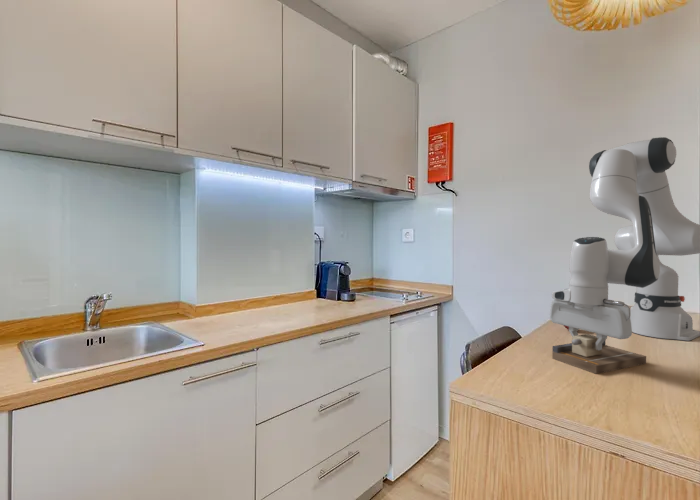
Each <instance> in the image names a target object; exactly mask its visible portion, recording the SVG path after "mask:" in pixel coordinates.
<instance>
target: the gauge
mask: <svg viewBox="0 0 700 500" xmlns="http://www.w3.org/2000/svg"><path fill="white" fill-rule="evenodd" d="M571 339H572V340H571V343H572V352H573V353H576V354H579V355H582V356H586V357H588V356H594V355H599V354H602V350H595V349H593V348H592V343H593V342H596V341H597V340H598V338H597V337H596V335H593V334H588V333H584V334H578V335H576V336H572V335H571Z"/></svg>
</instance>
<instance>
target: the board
mask: <svg viewBox="0 0 700 500" xmlns="http://www.w3.org/2000/svg"><path fill="white" fill-rule="evenodd" d="M551 353H552V355H551V356H552V357H551V358H552V359H553V360H555V361H558V362H562V363H564V364H567V365H569V366H572V367H576V368H578V369H581V370H584V371H587V372H590V373H593V374H595V375H597V374H603V373H606V372H607V373H608V372H611V371H616V370H621V369H626V368H632V367H635V366H641V365H646V364H647V356H646V355H643V354H640V353H636V352H633V351H628V350H625V349H621V348H619V347H614V346H611V345H606V340H605V341H604V342H603V343H602V354H599V355H594V356H588V357H586V356H582V355H579V354H576V353H573V352H572V342H571V343H563V344H558V345H557V344H556V345H552V351H551Z"/></svg>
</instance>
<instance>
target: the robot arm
mask: <svg viewBox="0 0 700 500" xmlns="http://www.w3.org/2000/svg"><path fill="white" fill-rule="evenodd" d="M676 158H677V149H676V145H675V144H674V141H672V140H671V139H670V138H668V137H661V136H660V137H652V138H651V139H644V140H638V141H632V142H629V143H626V144H623V145H620V146H616V147H612V148H610V149H605V150H601V151H599V152H597V153H595V154H594V155H593V156H592V157H591V158H590V160H589V162H588V170H589V174H590V176H591V182H590V187H589V201H590V202H591V204H592V205H593V206H594V207H595V208H596V209H597V210H599V211H601V212H603V213H605V214H607V215H610V216H615V217H619V218H623V219H625V220H628V221H629V222H631V223H632V225H628V226H623V227H620V228H619V229H618V230H617V232H615V235H614V239H613V241H614V242H613V243H614V245H615V247H616V249H609V248H608V243H607V240H606V239H605V238H604V237H600V236H599V237H598V236H586V237H579V238H576V239H575V240H573V242H572V244H571V249H570V255H569V272H570V279H569V283H568V288H565V289H561V290H555V291H554V290H553V291H552V293H551V297H552V300H551V302H550V308H549V319H550V321H551V322H552V323H553V324H557V325H561V326H563V325H565V326H569V330H568V331H569V334H570V335H571V337H572V336H576V335H579V332H578V331H579V330H581V331H585V332H590V333H593V334H596V335H595V336H596V337H597V338H598V340H597V341H596V342H593V343H592V348H593V349H595V350H602V343H603V342H604V341H605V342H606V340H607V338H608V337H609V338H614V339H618V340H626V339H629V338H630V337H632V335H633V333H634V334H636V335H637V334H638V335H641V336H646V337H649V338H651V337H652V338H657V339H664V340H665V339H666V340H667V339H670V340H678V341H688V342H689V341H692V340H694V339H696V338H698V337H700V331H699V330H696V329H693V328H694V327H693V322H694V321H693V317H692V316H691V315H690V314H689V313H688V312H686V311H685V309H684V308H682V302H683V303H684V302H685V300H686V297H685V295H679V274H678V272H677V271H676V270H675V269H674V268H672V267H670V266H667V265H665V264H663V262H662V261H661V260H660V258H659V256H676V257H677V256H681V257H682V256H683V257H684V256H691V255H698V254H700V224H698V223H696V222H693V221H692V220H691V219H689V218H687V217H686V216H684V214H682V213H681V212H680V211H679V210H678V208H677V207H676V204H675V203H674V199H673V196H672V191H671V189H670V184H669V179H668V177H667V172H666V171H667V170H669V169H671V168H672V166H673V165H674V164H675V162H676ZM609 284H612V285H614V284H615V285H622V286H623V285H625V286H630V287H636V288H635V290H636V292H634V295H633V297H634V305H632V306H631V307H630V306H629V305H627V304H625V302H623V301H620V300H613V299H609Z"/></svg>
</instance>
